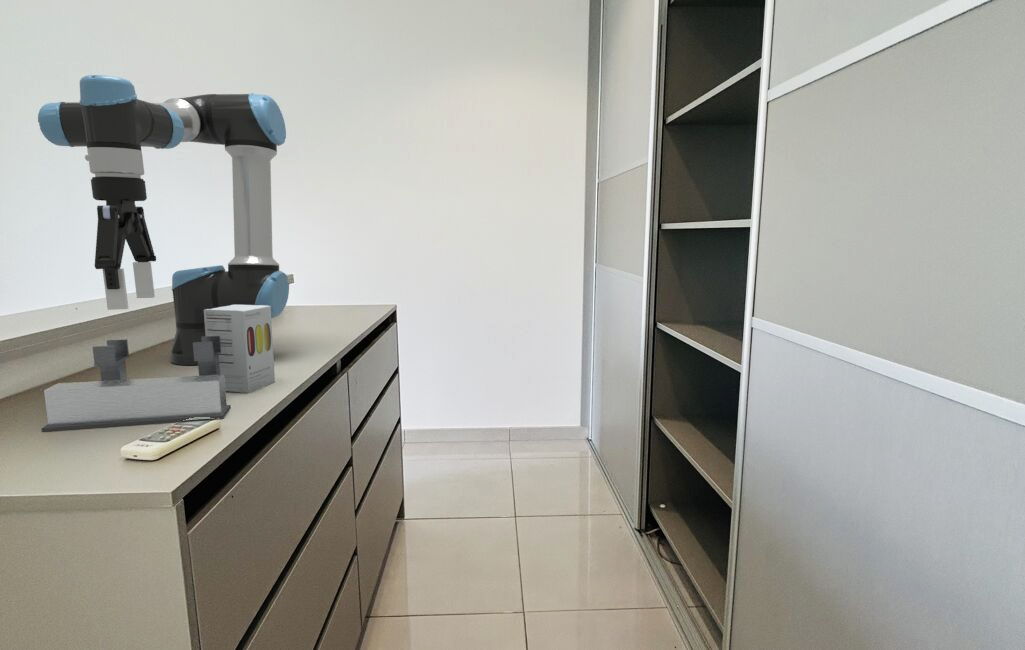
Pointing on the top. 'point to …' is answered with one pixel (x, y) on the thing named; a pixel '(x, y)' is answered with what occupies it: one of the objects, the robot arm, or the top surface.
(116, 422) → the mat
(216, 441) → the top surface
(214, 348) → the standards
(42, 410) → the top surface
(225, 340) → the supplement box
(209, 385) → the rail
